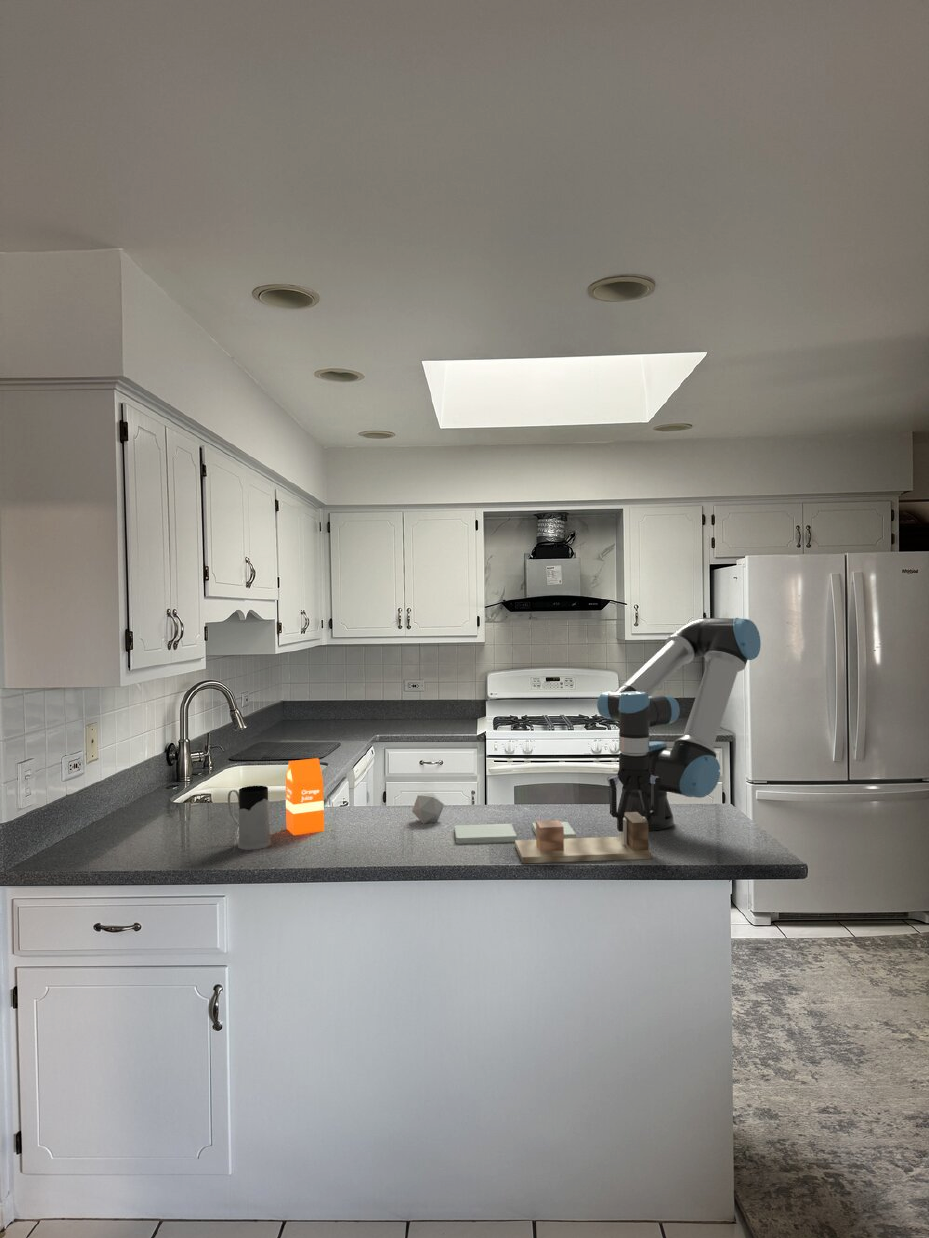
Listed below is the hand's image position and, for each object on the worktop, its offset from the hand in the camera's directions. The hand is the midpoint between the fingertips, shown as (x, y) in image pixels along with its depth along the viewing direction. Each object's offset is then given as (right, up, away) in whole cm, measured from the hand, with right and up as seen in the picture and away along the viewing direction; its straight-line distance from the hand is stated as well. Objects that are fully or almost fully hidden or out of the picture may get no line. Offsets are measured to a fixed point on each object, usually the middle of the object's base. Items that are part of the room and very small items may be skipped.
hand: (633, 843), depth 209 cm
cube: (-22, -1, -2) cm, 22 cm away
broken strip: (-30, -2, +15) cm, 33 cm away
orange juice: (-88, -3, +23) cm, 91 cm away
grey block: (-54, -2, +30) cm, 62 cm away
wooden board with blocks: (-14, -2, -1) cm, 14 cm away
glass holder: (-102, -3, +11) cm, 102 cm away
